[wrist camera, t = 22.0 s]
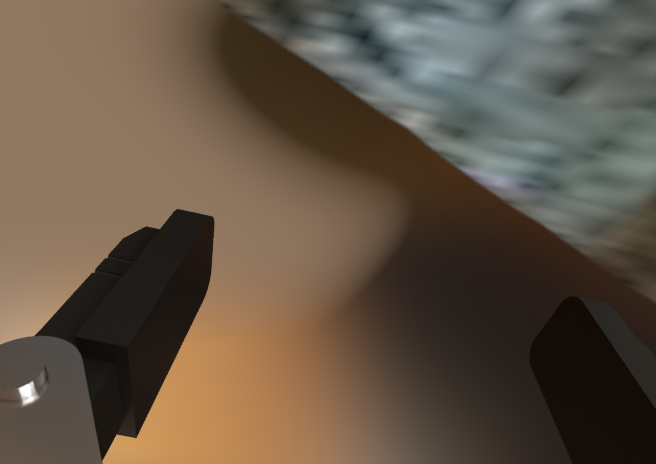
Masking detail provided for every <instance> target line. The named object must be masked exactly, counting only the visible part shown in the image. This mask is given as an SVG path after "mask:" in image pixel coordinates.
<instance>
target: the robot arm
mask: <svg viewBox="0 0 656 464" xmlns="http://www.w3.org/2000/svg"><path fill="white" fill-rule="evenodd" d="M213 238H214V218H213V217H212V216H208V215H203V214H199V213H194V212H189V211H184V210H180V209H177V210H175V211H174V212H173V214H172V215H171V216H170V217H169V218H168V220H167V221H166V222H165V224H164V225H163V226H162V227H161V229H156V228H151V227H144V228H142V229H141V230H138V231H137V232H134V233H133V234H131V235H129V236H127V237H125V238H123V239H122V240H121V241H120V243H119V244H118V245H117V246H116V247H115V248H114V249H113V250H112V251H111V253H110V254H109V255H108V258H107V259H106V258H105V259H104V260H103V262H102V263H101V264H100V265H99V266H98V267H97V268H96V270H95V273H92V274H91V275H90V276H89V277H88V278H87V279H86V280H85V281H84V282H83V283H82V285H81V286H80V287H79V288H78V289H77V290H76V291H75V292H74V293H73V295H72V296H71V297H70V298H69V299H68V300H67V301H66V302H65V303H64V304H63V306H62V307H61V308H60V309H59V310H58V311H57V312H56V313H55V314H54V315H53V317H52V318H51V319H50V320H49V321H48V322H47V323H46V324H45V326H43V328H42V329H41V330H40V331H39V332H38V333H37V334H36V335H35V336H32V337H25V338H20V339H16V340H12V341H9V342H6V343H3V344H1V345H0V464H102V461H103V459H104V457H105V455H106V453H107V451H108V449H109V448H110V446H111V444H112V442H113V440H114V438H115V436H116V435H123V436H129V437H133V438H137V436H138V434H139V431H140V429H141V427H142V425H143V423H144V421H145V419H146V417H147V415H148V413H149V411H150V409H151V407H152V405H153V403H154V400H155V399H156V397H157V395H158V392H159V390H160V388H161V386H162V384H163V382H164V380H165V378H166V376H167V374H168V372H169V370H170V368H171V366H172V363H173V362H174V359H175V357H176V356H177V353H178V351H179V349H180V347H181V345H182V343H183V341H184V339H185V337H186V335H187V333H188V331H189V329H190V327H191V325H192V323H193V321H194V319H195V316H196V314H197V312H198V310H199V308H200V306H201V304H202V302H203V300H204V298H205V295H206V292H207V289H208V286H209V282H210V277H211V268H212V253H213ZM530 365H531V368H532V371H533V373H534V375H535V378H536V380H537V382H538V385H539V387H540V389H541V392H542V394H543V396H544V399H545V401H546V403H547V406H548V408H549V410H550V413H551V415H552V417H553V419H554V422H555V424H556V426H557V429H558V431H559V433H560V436H561V438H562V440H563V442H564V445H565V447H566V449H567V452H568V454H569V456H570V459H571V461H572V463H573V464H656V358H655V356H654V355H653V354H652V352H651V351H649V349H647V348H646V347H645V346H644V345H643V344H642V343H641V342H639V341H638V340H637V339H636V337H635V336H634V335H633V333H632V332H631V331H630V330H629V328H628V327H627V325H626V324H625V323H624V321H623V320H622V319H621V318H620V316H619V315H618V314H617V312H616V311H615V310H614V308H613V307H612V306H610V305H608V304H606V303H602V302H597V301H592V300H588V299H584V298H579V297H574V296H571V297H568V298H566V299H565V300H564V301H563V302H562V303H561V304H560V305H559V307H558V308H557V309H556V311H555V312H554V314H553V315H552V316H551V318H550V319H549V320H548V322H547V323H546V324H545V326H544V327H543V329H542V330H541V331H540V333H539V334H538V335H537V337H536V338H535V340H534V341H533V343H532V346H531V349H530Z"/></svg>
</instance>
